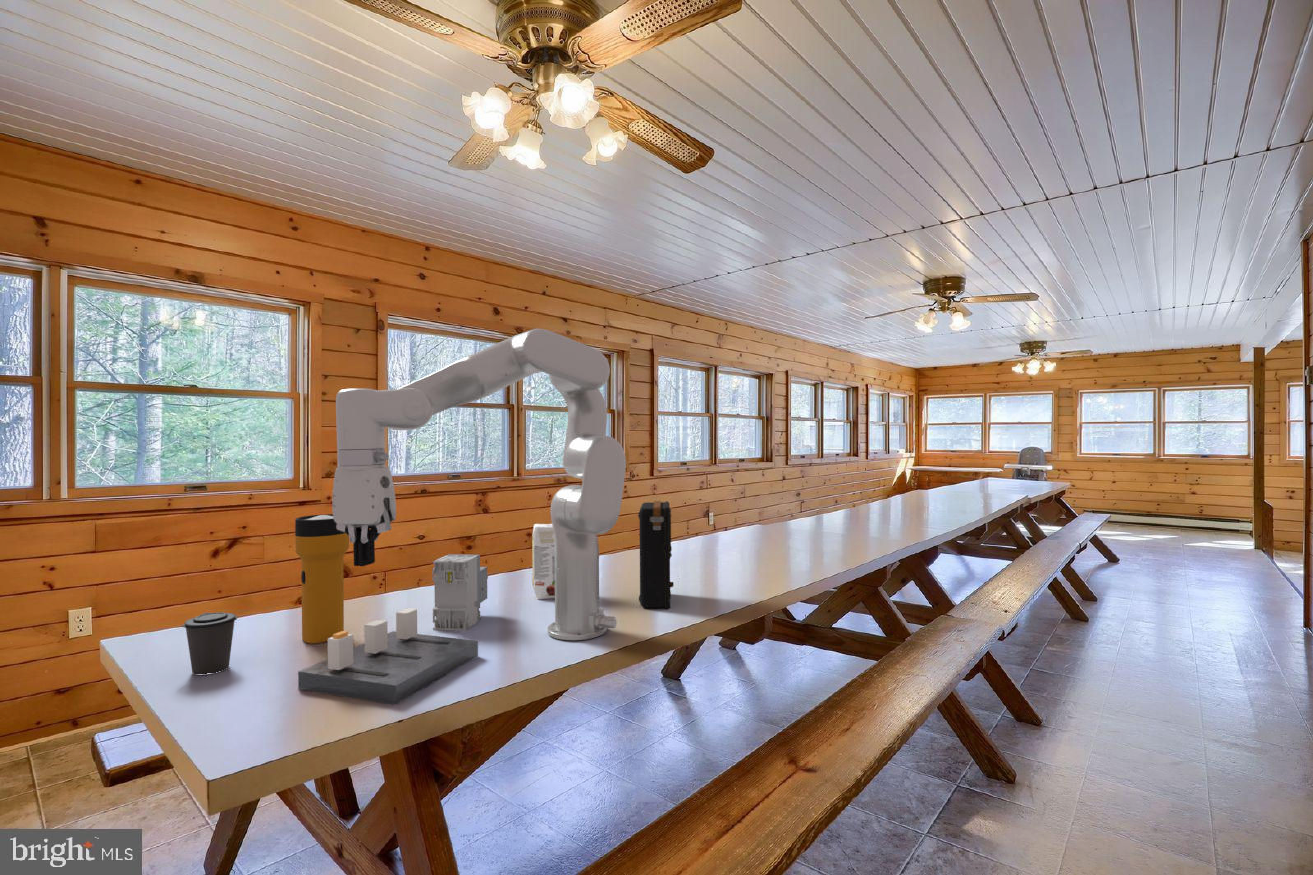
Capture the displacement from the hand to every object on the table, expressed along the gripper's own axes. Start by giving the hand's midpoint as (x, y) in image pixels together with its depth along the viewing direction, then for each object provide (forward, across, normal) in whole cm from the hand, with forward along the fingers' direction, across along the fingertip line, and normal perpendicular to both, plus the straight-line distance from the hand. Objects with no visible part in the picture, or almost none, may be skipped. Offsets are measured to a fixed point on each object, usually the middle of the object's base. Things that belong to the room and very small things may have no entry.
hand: (364, 564), depth 106 cm
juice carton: (+21, -5, -59) cm, 63 cm away
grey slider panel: (+20, -2, -4) cm, 21 cm away
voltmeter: (+22, -34, -61) cm, 73 cm away
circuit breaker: (+21, +4, -34) cm, 40 cm away
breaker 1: (+17, +2, -4) cm, 17 cm away
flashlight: (+20, +25, -15) cm, 36 cm away
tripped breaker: (+16, +2, +4) cm, 17 cm away
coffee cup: (+20, +31, +5) cm, 37 cm away
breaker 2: (+17, +1, -12) cm, 21 cm away
